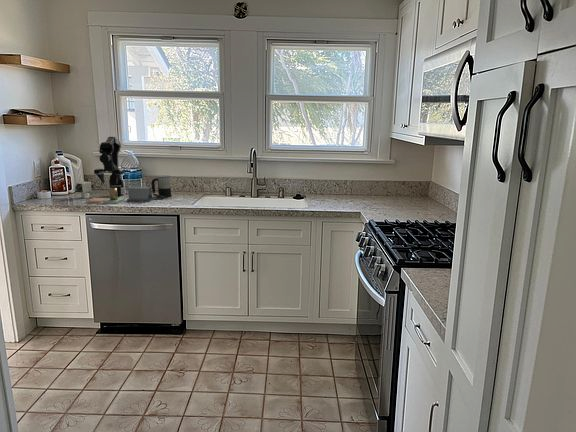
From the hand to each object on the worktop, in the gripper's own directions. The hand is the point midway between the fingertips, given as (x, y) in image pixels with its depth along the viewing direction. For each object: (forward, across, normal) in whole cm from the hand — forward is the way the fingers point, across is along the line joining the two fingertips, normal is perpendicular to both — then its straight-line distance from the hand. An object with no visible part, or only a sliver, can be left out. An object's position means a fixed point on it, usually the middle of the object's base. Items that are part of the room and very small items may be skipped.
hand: (110, 184), depth 293 cm
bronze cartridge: (+10, -4, +5) cm, 12 cm away
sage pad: (+11, -4, +5) cm, 13 cm away
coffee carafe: (+12, -30, -17) cm, 36 cm away
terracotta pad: (+12, +8, +5) cm, 15 cm away
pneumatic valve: (+12, +24, -8) cm, 28 cm away
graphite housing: (+12, -19, -4) cm, 23 cm away
